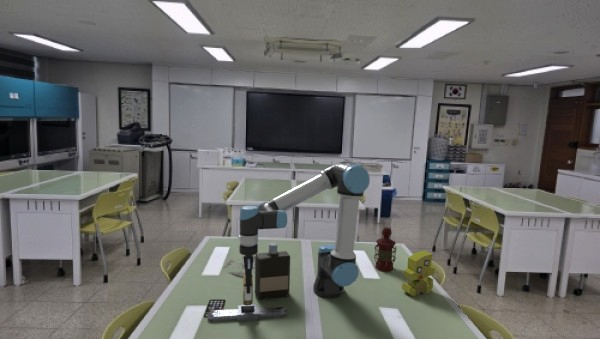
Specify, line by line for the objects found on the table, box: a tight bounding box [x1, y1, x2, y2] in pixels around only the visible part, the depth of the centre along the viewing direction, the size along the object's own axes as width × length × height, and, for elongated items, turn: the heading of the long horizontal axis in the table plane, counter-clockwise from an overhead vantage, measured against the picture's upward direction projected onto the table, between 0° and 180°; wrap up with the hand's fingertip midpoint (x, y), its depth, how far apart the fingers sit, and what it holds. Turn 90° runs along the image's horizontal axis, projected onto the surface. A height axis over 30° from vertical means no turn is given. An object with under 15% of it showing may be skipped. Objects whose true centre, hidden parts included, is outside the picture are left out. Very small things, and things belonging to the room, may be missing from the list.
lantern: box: [373, 216, 397, 273], centre depth 209 cm, size 12×12×30 cm
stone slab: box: [223, 254, 256, 278], centre depth 212 cm, size 27×33×1 cm
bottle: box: [254, 242, 291, 300], centre depth 174 cm, size 8×16×25 cm, turn 106°
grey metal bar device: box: [207, 303, 287, 323], centre depth 155 cm, size 33×8×3 cm, turn 100°
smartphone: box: [203, 298, 226, 319], centre depth 161 cm, size 7×1×15 cm
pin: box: [242, 274, 254, 306], centre depth 154 cm, size 4×4×12 cm
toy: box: [401, 249, 436, 297], centre depth 181 cm, size 16×6×20 cm, turn 115°
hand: (247, 297), depth 154 cm, fingers closed on pin, 4 cm apart
